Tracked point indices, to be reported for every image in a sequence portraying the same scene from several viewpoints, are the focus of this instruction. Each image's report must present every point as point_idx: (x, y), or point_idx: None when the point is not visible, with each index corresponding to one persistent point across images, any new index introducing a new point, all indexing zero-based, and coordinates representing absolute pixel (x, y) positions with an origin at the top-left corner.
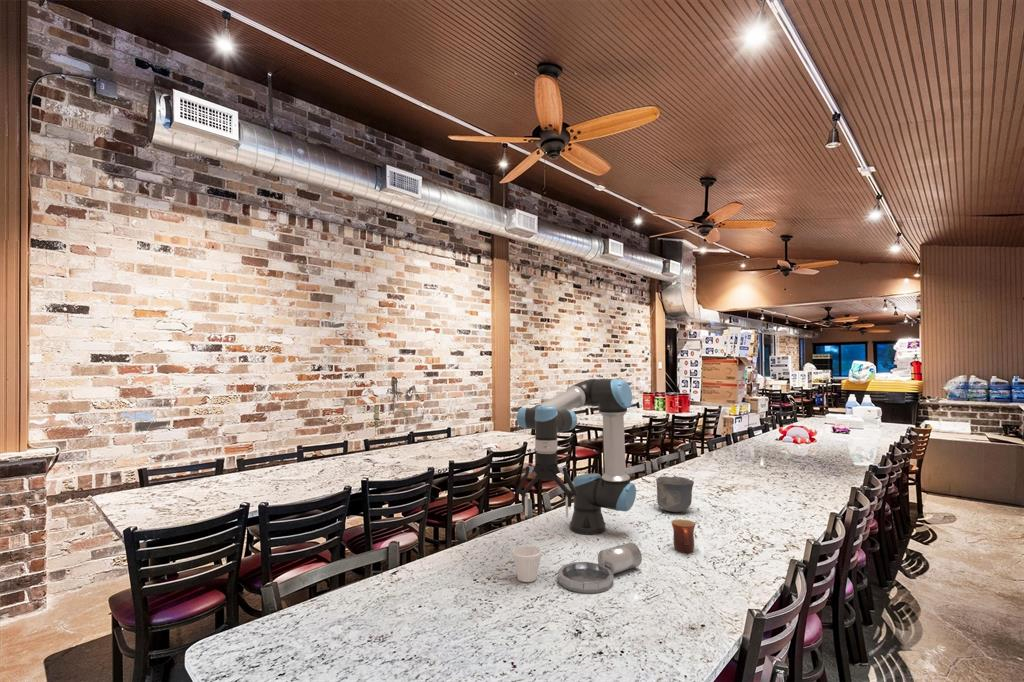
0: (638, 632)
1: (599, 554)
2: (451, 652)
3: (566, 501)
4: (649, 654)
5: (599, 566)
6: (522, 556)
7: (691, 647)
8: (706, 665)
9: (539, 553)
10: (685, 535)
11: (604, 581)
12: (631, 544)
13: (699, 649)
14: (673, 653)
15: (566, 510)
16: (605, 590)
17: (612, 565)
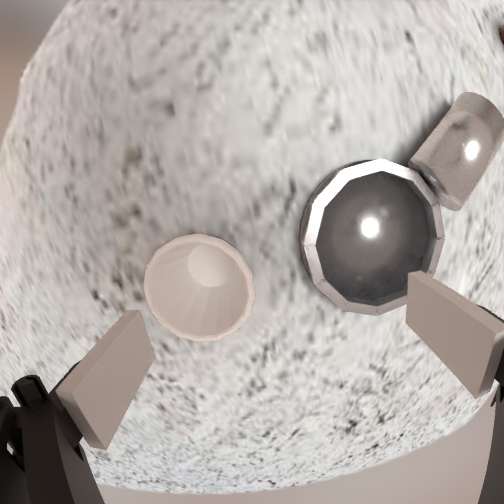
0: (434, 394)
1: (427, 164)
2: (192, 476)
3: (466, 378)
4: (429, 426)
5: (414, 184)
6: (198, 341)
7: None
8: (471, 415)
9: (250, 307)
10: None
11: None
12: (500, 125)
13: None
14: (453, 413)
15: (432, 344)
16: None
17: (450, 206)
